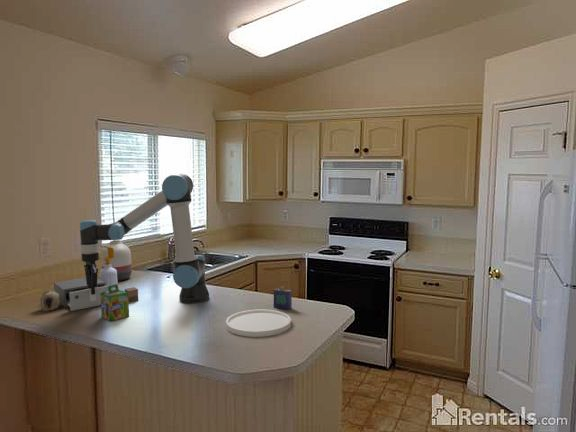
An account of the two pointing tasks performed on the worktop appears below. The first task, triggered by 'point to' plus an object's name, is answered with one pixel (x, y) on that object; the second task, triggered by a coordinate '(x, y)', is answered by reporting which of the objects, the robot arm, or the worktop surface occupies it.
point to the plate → (258, 323)
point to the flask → (282, 298)
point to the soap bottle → (109, 270)
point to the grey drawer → (84, 298)
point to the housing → (72, 287)
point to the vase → (119, 259)
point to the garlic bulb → (50, 300)
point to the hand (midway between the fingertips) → (92, 300)
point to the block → (132, 294)
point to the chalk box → (114, 304)
